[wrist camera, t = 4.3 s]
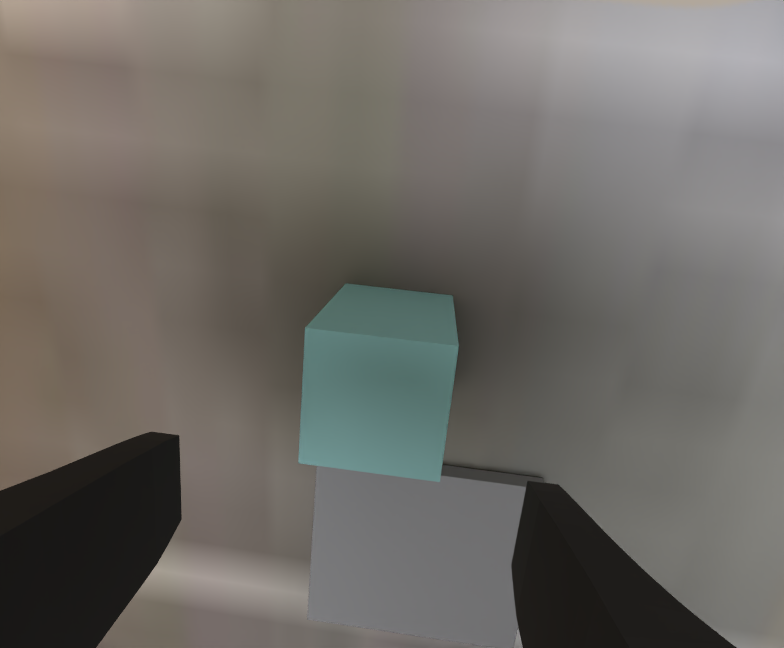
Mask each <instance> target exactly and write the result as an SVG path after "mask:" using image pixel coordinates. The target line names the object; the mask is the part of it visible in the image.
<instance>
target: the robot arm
mask: <svg viewBox="0 0 784 648" xmlns="http://www.w3.org/2000/svg"><path fill="white" fill-rule="evenodd" d="M180 521H181V484H180V448H179V435H172V434H164V433H157V432H149V433H145V434H142V435H139V436H136V437H134V438H131V439H128V440H126V441H123V442H121V443H118V444H116V445H113V446H111V447H108V448H106V449H104V450H101V451H99V452H96V453H94V454H92V455H89V456H87V457H84V458H82V459H80V460H77V461H75V462H72V463H70V464H67V465H65V466H63V467H60V468H58V469H55V470H53V471H51V472H48V473H46V474H43V475H40V476H38V477H35V478H33V479H30V480H27V481H25V482H22V483H20V484H17V485H14V486H12V487H9V488H6V489H4V490H1V491H0V648H96V647H97V646H98V644H99V643H100V641H101V640H102V639H103V637H104V636H105V635H106V633H107V632H108V631H109V629H110V628H111V627H112V625H113V624H114V622H115V621H116V620H117V618H118V617H119V616H120V614H121V613H122V612H123V610H124V609H125V607H126V606H127V605H128V603H129V602H130V601H131V599H132V598H133V597H134V595H135V594H136V592H137V591H138V590H139V588H140V587H141V585H142V584H143V583H144V581H145V580H146V579H147V577H148V576H149V574H150V573H151V572H152V570H153V569H154V567H155V566H156V564H157V563H158V561H159V559H160V558H161V556H162V554H163V552H164V551H165V549H166V547H167V545H168V544H169V542H170V540H171V538H172V536H173V534H174V532H175V530H176V529H177V527H178V525H179V523H180ZM511 569H512V580H513V591H514V601H515V610H516V617H517V622H518V627H519V632H520V636H521V641H522V645H523V648H736V647H735V646H733V645H732V644H731V643H730V642H728V641H727V640H726V639H725V638H723V637H722V636H721V635H719V634H718V633H717V632H716V631H714V630H713V629H712V628H711V627H709V626H708V625H707V624H705V623H704V622H703V621H702V620H700V619H699V618H698V617H697V616H695V615H694V614H693V613H692V612H691V611H689V610H688V609H687V608H686V607H685V606H683V605H682V604H681V603H680V602H679V601H678V600H676V599H675V598H674V597H673V596H672V595H671V594H670V593H669V592H667V591H666V590H665V589H664V588H663V587H662V586H661V585H660V584H658V583H657V582H656V581H655V580H654V579H653V578H652V577H651V576H650V575H648V574H647V573H646V572H645V571H644V570H643V569H642V568H641V567H640V566H639V565H638V564H637V563H636V562H635V561H634V560H633V559H631V558H630V557H629V556H628V555H627V554H626V553H625V552H624V551H623V550H622V549H621V548H620V547H619V546H618V545H617V544H616V543H615V542H614V541H613V540H612V539H611V538H610V537H609V536H608V535H607V534H606V533H605V532H604V531H603V530H602V529H601V528H600V527H599V526H598V525H597V524H596V522H595V521H594V520H593V519H592V518H591V517H590V516H589V515H588V514H587V513H586V512H585V511H584V510H583V509H582V508H581V507H580V506H579V505H578V504H577V503H576V502H575V501H574V500H573V499H572V498H571V497H570V496H569V494H568V493H567V492H566V491H564V490H563V489H562V488H561V487H560V486H559V485H557V484H549V483H541V482H534V481H527V485H526V491H525V496H524V501H523V506H522V511H521V517H520V522H519V527H518V532H517V537H516V543H515V548H514V553H513V558H512V563H511Z"/></svg>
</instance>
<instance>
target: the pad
mask: <svg viewBox="0 0 784 648" xmlns="http://www.w3.org/2000/svg"><path fill="white" fill-rule="evenodd" d="M527 481H534V482H541V483H544V481H543V478H538V477H531V476H523V475H516V474H508V473H501V472H493V471H486V470H478V469H471V468H463V467H455V466H448V465H442V470H441V477H440V482H435V481H427V480H420V479H412V478H405V477H398V476H390V475H383V474H375V473H368V472H360V471H353V470H346V469H338V468H331V467H323V466H317V469H316V485H315V501H314V518H313V534H312V550H311V567H310V583H309V599H308V615H307V619H308V620H315V621H321V622H328V623H334V624H341V625H347V626H354V627H361V628H367V629H374V630H380V631H387V632H393V633H400V634H406V635H413V636H419V637H426V638H433V639H439V640H446V641H452V642H459V643H465V644H472V645H478V646H485V647H491V648H514V644H515V639H516V634H517V629H518V622H517V617H516V610H515V601H514V591H513V580H512V569H511V563H512V558H513V553H514V548H515V543H516V537H517V532H518V527H519V522H520V517H521V511H522V506H523V501H524V496H525V491H526V485H527Z"/></svg>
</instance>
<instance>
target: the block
mask: <svg viewBox="0 0 784 648" xmlns="http://www.w3.org/2000/svg"><path fill="white" fill-rule="evenodd" d="M458 348H459V343H458V335H457V327H456V319H455V310H454V302H453V295H445V294H436V293H427V292H418V291H409V290H400V289H391V288H382V287H373V286H365V285H356V284H347V283H346V284H345V285H344V286H343V287H342V288H341V289H340V290H339V291H338V292H337V293H336V295H335V296H334V297H333V298H332V299H331V300H330V301H329V302H328V303H327V304H326V306H325V307H324V308H323V309H322V310H321V311H320V312H319V313H318V314H317V315H316V317H315V318H314V319H313V320H312V321H311V322H310V323H309V324H308V325H307V326H306V327H305V341H304V361H303V381H302V401H301V421H300V441H299V462H298V463H301V464H308V465H316V466H323V467H331V468H338V469H346V470H353V471H360V472H368V473H375V474H383V475H390V476H398V477H405V478H412V479H420V480H427V481H435V482H440V477H441V470H442V463H443V456H444V449H445V442H446V434H447V427H448V420H449V413H450V406H451V399H452V391H453V384H454V377H455V370H456V363H457V356H458Z"/></svg>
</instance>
